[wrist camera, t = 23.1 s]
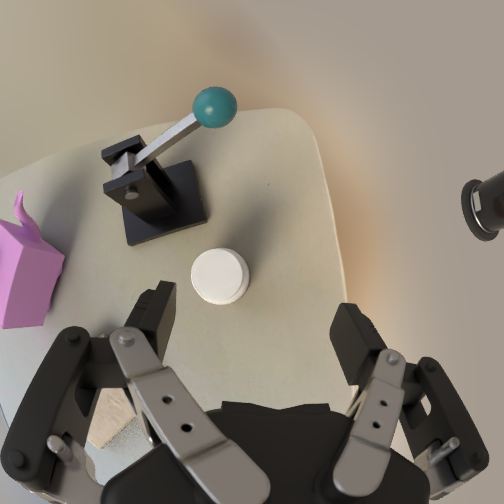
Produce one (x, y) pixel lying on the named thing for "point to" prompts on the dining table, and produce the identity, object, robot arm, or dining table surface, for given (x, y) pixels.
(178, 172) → the bracket
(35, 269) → the teapot
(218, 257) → the pill bottle
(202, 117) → the lever with teal knob
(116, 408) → the washcloth
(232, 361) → the dining table surface
